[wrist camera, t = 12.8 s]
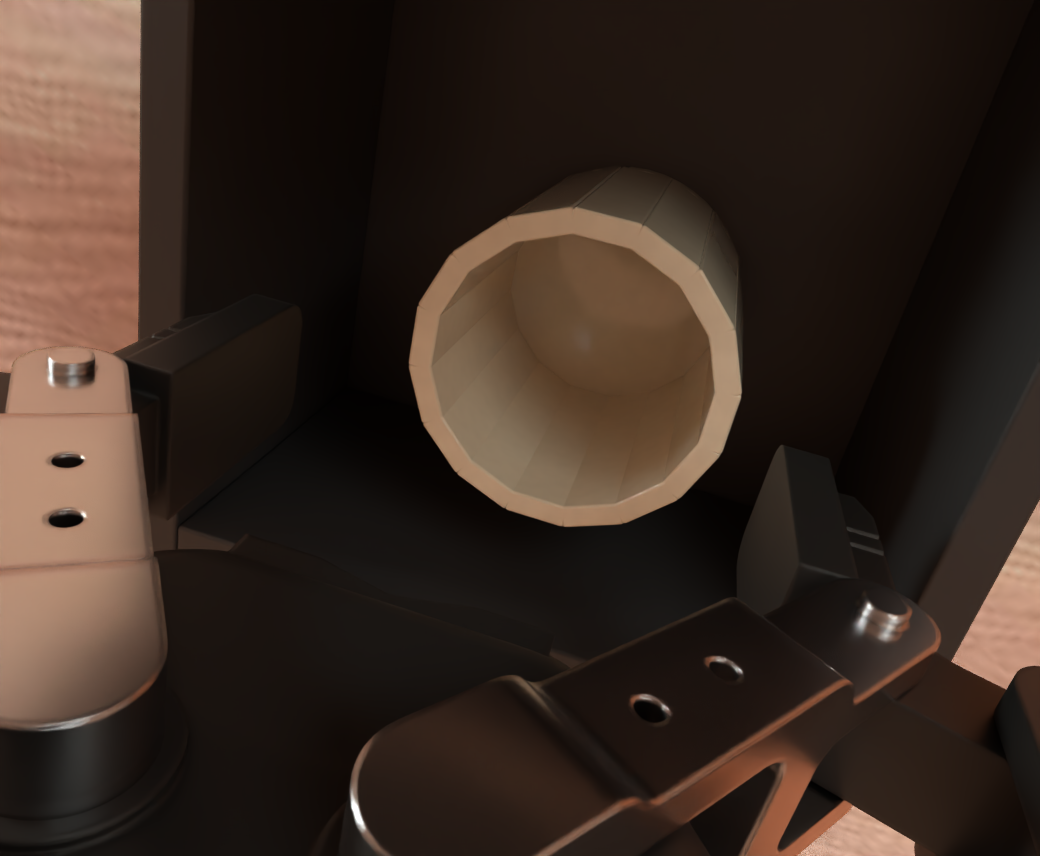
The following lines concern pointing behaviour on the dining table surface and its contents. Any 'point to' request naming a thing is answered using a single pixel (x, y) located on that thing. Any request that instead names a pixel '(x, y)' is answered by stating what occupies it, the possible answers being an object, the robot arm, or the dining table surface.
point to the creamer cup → (585, 349)
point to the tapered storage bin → (590, 145)
